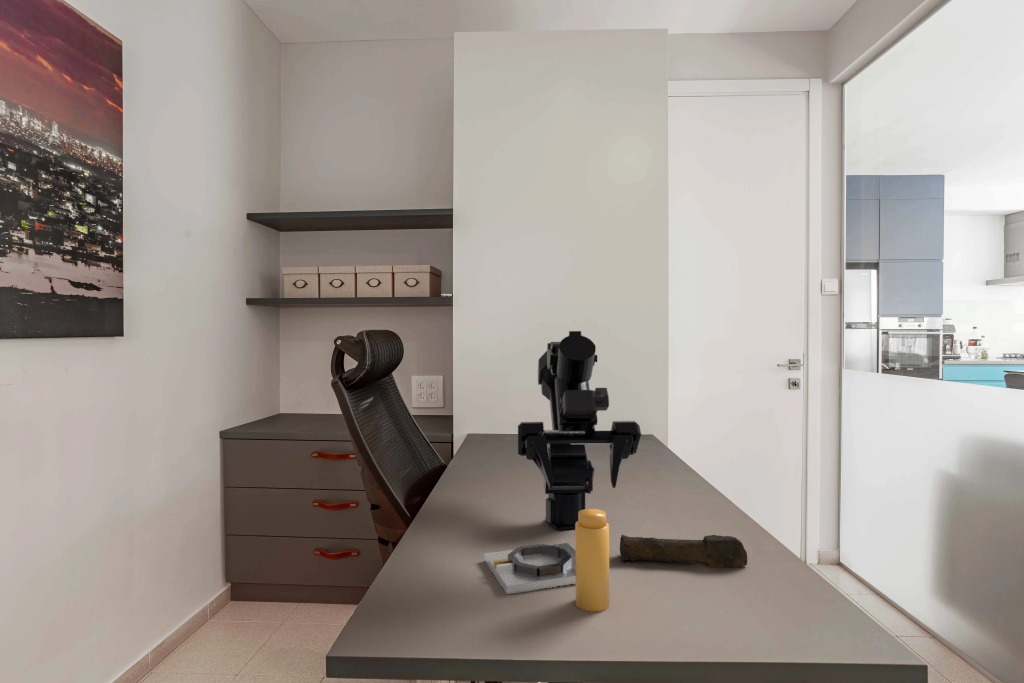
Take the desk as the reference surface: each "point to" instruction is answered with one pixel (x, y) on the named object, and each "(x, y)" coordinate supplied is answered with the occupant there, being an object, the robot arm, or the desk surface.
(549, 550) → the plate
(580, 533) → the domed yellow peg
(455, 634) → the desk surface
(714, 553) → the hand tool
